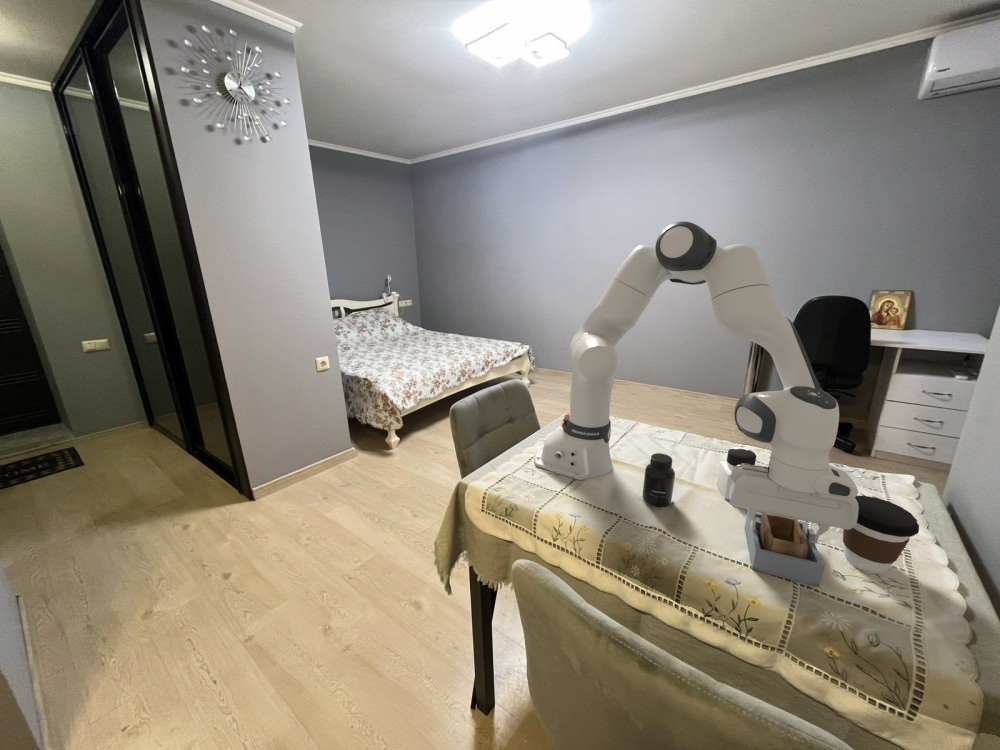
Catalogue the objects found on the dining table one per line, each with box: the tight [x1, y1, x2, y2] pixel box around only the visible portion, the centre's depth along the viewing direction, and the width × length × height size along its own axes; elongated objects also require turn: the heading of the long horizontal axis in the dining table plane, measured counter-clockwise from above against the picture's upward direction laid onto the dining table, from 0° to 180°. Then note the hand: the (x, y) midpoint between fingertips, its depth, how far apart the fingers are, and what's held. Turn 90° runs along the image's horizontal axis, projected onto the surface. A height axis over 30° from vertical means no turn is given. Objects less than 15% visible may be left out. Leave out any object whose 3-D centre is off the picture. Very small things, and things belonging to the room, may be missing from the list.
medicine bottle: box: [716, 446, 757, 501], centre depth 101 cm, size 7×7×12 cm
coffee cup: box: [842, 495, 920, 575], centre depth 78 cm, size 11×11×12 cm
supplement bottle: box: [642, 452, 676, 509], centre depth 99 cm, size 7×7×12 cm
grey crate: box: [744, 511, 825, 588], centre depth 81 cm, size 11×14×4 cm
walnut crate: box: [758, 512, 808, 560], centre depth 80 cm, size 6×9×6 cm, turn 156°
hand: (782, 533), depth 81 cm, fingers open, 8 cm apart
